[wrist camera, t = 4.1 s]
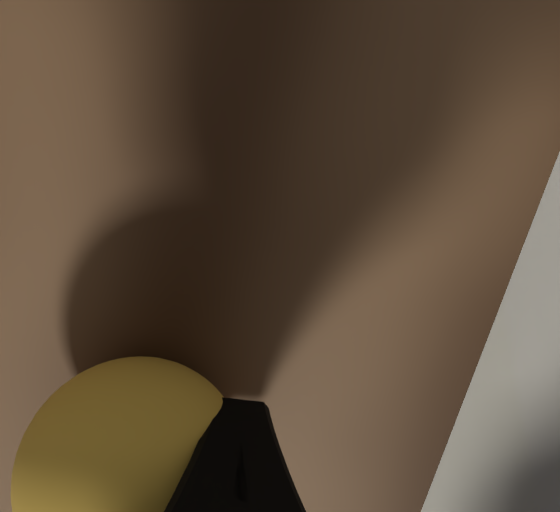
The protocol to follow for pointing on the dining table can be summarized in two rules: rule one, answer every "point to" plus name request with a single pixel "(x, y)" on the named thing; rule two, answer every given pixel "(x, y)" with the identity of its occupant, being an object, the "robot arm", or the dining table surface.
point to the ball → (113, 438)
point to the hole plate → (273, 211)
